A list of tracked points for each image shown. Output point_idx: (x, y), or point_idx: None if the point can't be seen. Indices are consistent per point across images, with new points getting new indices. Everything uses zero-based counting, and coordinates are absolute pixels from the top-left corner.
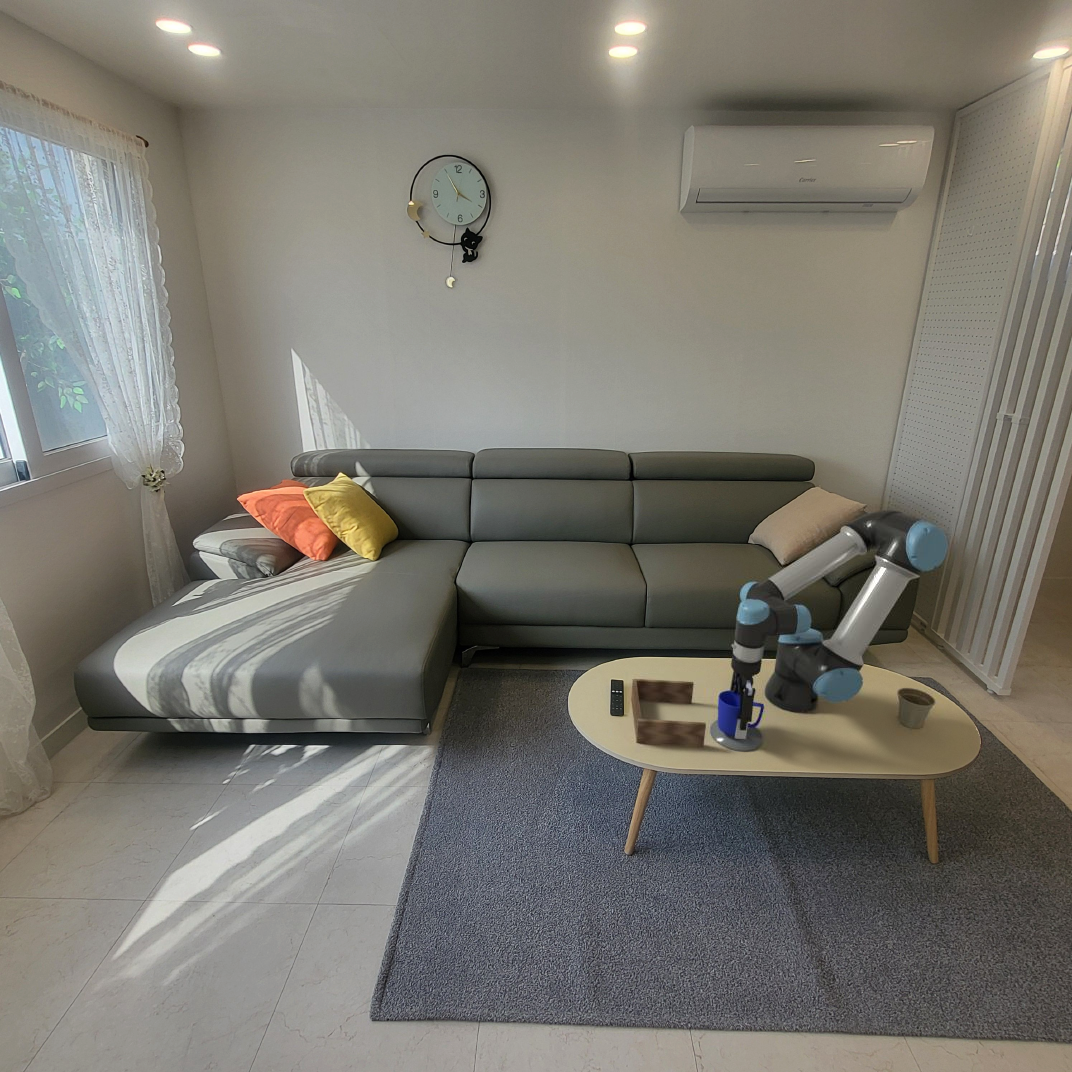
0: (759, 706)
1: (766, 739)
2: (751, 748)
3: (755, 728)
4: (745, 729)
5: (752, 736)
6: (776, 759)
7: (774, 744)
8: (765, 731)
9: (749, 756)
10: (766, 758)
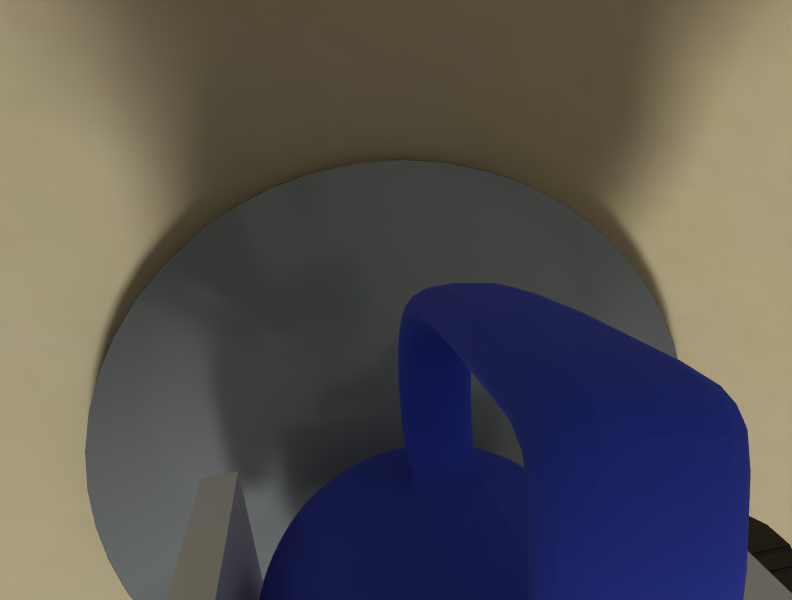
0: (736, 556)
1: (399, 104)
2: (656, 316)
3: (234, 234)
4: (766, 531)
5: (423, 287)
6: (763, 38)
7: (484, 12)
8: (220, 93)
9: (737, 332)
10: (754, 155)
